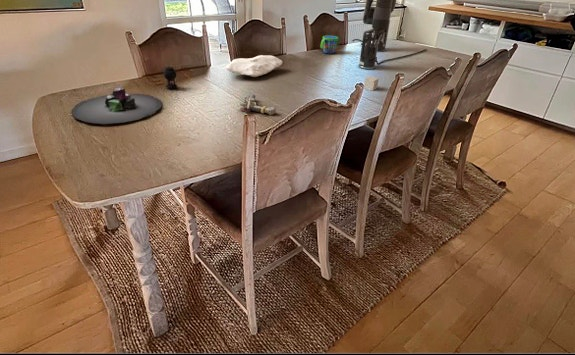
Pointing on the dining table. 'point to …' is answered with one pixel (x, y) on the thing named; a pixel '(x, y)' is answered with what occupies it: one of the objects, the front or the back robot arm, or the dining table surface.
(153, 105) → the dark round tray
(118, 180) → the dining table surface
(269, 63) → the crumpled cloth
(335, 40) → the snack cup
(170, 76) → the gumball machine
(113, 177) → the dining table surface
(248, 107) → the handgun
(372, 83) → the block
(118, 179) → the dining table surface
